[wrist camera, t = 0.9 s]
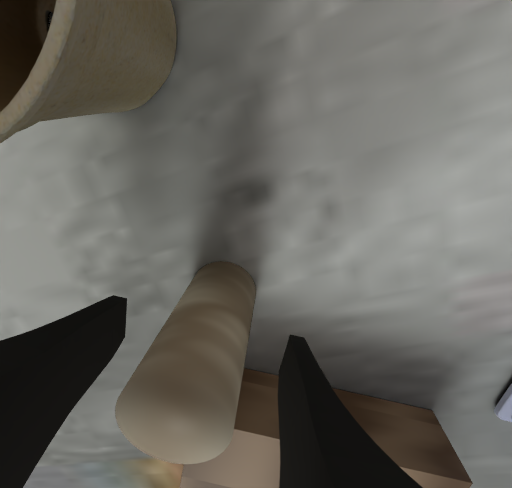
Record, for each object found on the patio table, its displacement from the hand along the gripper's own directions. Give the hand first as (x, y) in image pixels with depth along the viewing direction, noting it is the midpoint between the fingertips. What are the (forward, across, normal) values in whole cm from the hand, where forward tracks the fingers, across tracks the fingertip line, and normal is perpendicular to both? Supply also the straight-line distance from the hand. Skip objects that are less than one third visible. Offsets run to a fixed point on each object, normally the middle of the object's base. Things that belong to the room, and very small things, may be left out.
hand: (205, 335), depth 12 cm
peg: (+4, 0, 0) cm, 4 cm away
